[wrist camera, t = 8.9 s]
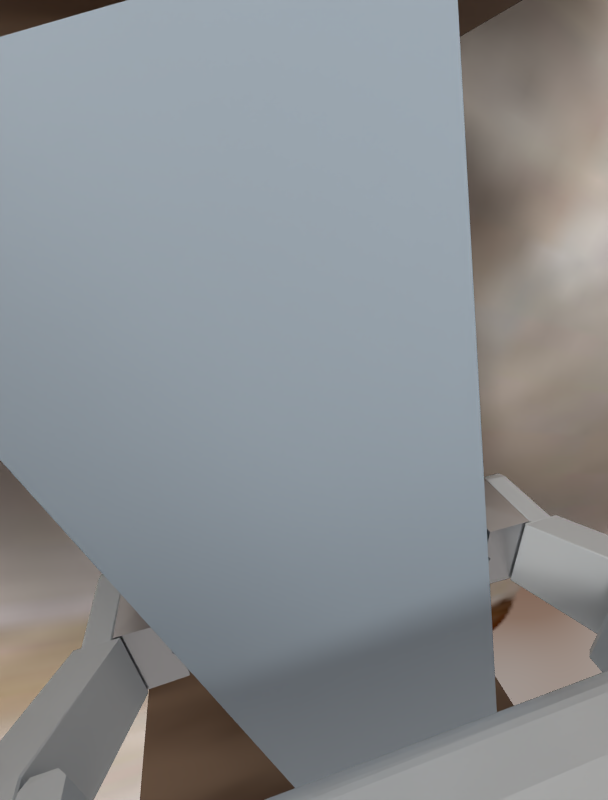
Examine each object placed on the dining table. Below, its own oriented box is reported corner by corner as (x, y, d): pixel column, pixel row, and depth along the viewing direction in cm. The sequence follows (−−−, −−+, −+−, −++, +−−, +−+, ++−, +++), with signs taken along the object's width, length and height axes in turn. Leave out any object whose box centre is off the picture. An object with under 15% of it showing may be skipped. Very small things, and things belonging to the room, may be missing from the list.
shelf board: (-30, 163, 6) (-303, 123, 3) (319, 55, 7) (453, -93, 3) (293, 679, 15) (322, 818, 12) (431, 617, 16) (497, 734, 12)
